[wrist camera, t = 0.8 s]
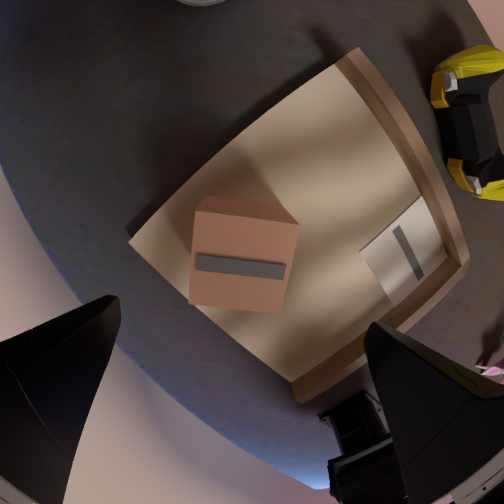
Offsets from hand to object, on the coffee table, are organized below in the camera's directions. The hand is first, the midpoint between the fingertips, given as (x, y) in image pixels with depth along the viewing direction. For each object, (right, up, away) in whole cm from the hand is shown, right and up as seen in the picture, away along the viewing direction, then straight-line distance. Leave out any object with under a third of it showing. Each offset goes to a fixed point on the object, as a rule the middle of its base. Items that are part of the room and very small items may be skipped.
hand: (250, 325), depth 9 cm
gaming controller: (+20, +14, +8) cm, 26 cm away
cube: (-1, +3, +9) cm, 10 cm away
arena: (+5, +3, +11) cm, 13 cm away
